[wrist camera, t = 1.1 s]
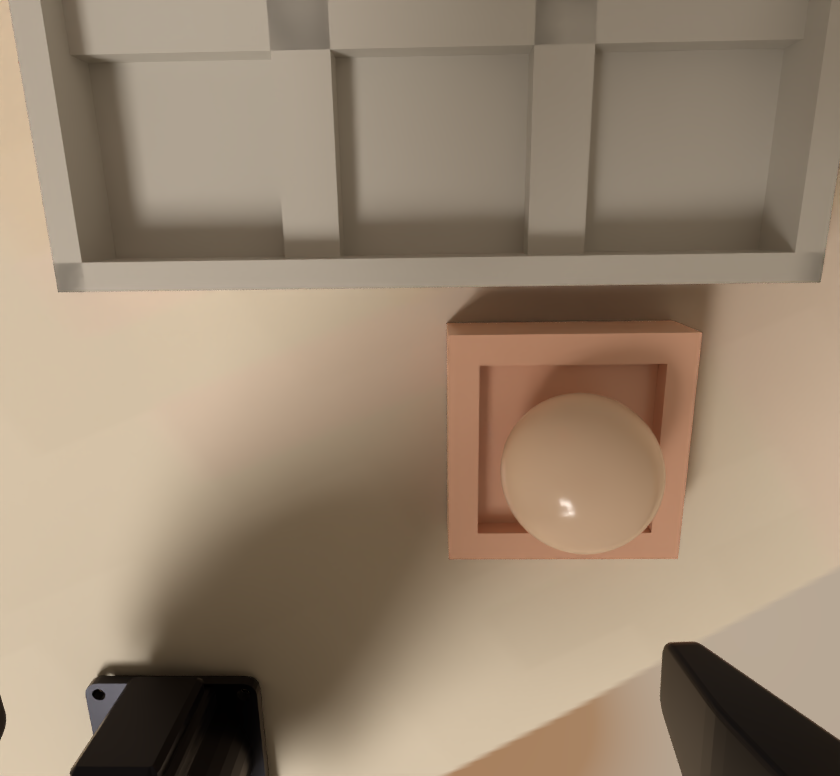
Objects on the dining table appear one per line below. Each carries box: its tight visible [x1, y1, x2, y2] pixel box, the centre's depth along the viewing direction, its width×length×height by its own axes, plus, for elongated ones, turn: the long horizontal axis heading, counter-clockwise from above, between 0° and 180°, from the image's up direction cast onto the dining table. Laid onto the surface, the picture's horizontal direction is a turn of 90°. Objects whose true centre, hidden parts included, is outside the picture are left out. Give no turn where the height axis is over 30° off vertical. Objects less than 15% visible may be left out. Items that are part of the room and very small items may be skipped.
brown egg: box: [500, 393, 666, 554], centre depth 17 cm, size 4×4×4 cm
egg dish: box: [447, 320, 702, 559], centre depth 19 cm, size 7×7×2 cm
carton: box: [8, 0, 840, 292], centre depth 16 cm, size 14×21×2 cm, turn 91°
